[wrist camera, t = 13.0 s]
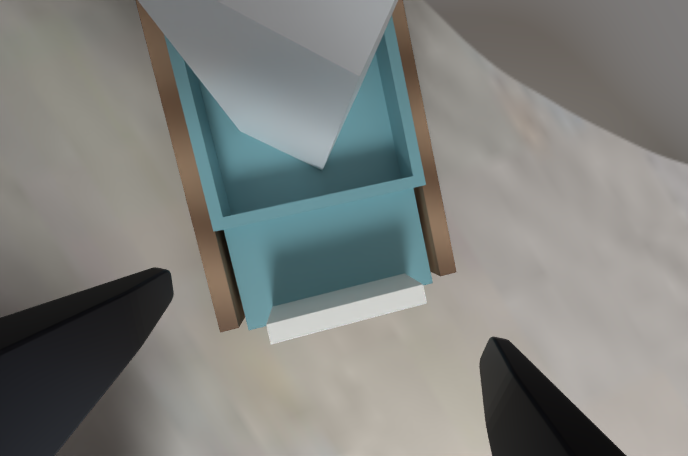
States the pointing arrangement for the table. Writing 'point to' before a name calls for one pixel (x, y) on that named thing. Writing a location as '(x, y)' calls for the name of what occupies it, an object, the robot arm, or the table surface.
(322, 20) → the light grey block
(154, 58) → the dock
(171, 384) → the table surface
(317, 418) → the table surface
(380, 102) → the tray
